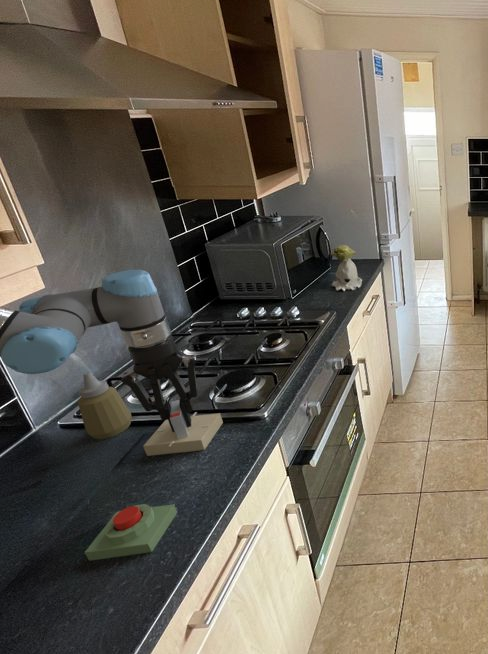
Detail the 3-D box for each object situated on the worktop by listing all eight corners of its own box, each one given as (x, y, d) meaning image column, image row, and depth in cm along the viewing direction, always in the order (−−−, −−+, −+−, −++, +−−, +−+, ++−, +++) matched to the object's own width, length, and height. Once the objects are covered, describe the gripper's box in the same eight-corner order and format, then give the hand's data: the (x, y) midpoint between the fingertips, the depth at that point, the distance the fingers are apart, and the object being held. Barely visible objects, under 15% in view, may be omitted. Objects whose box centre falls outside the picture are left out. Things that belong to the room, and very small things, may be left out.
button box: (88, 560, 73) (80, 545, 72) (120, 519, 80) (113, 504, 79) (151, 552, 75) (144, 537, 73) (177, 512, 82) (171, 497, 80)
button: (111, 532, 74) (107, 525, 74) (125, 514, 78) (121, 507, 77) (133, 529, 75) (130, 522, 74) (146, 511, 78) (143, 504, 77)
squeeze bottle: (130, 418, 106) (105, 358, 99) (141, 431, 102) (115, 370, 95) (87, 437, 100) (57, 375, 93) (97, 452, 96) (66, 389, 89)
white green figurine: (357, 277, 192) (351, 239, 185) (366, 286, 182) (361, 246, 176) (330, 283, 185) (323, 244, 178) (339, 293, 176) (332, 252, 169)
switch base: (144, 459, 94) (139, 449, 93) (173, 424, 104) (169, 414, 103) (202, 453, 96) (198, 443, 94) (225, 419, 106) (222, 409, 105)
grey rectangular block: (178, 421, 101) (170, 401, 98) (188, 418, 102) (181, 397, 99) (177, 439, 95) (169, 418, 93) (188, 435, 97) (180, 414, 94)
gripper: (99, 359, 83) (139, 450, 91) (193, 337, 91) (220, 422, 99) (106, 343, 88) (142, 429, 97) (193, 323, 96) (219, 404, 105)
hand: (182, 425), depth 98 cm, fingers closed on grey rectangular block, 2 cm apart
